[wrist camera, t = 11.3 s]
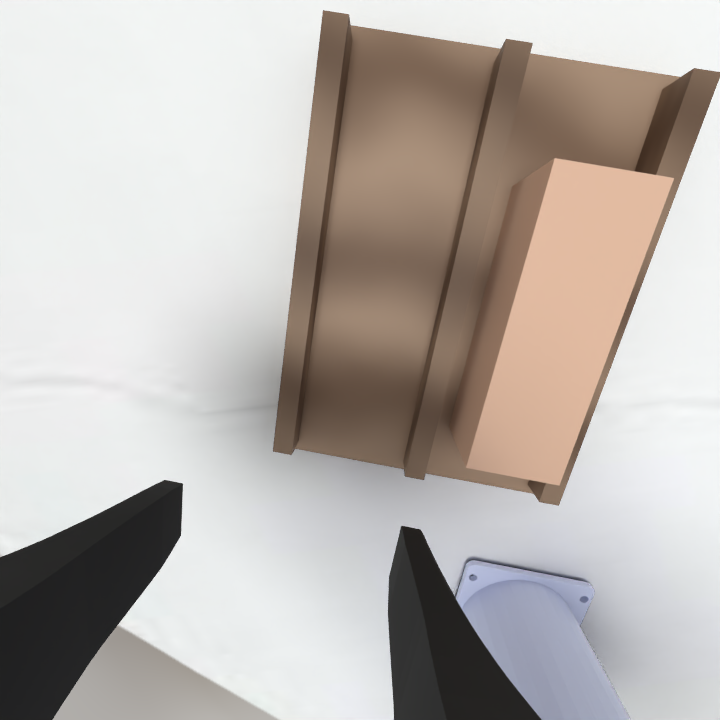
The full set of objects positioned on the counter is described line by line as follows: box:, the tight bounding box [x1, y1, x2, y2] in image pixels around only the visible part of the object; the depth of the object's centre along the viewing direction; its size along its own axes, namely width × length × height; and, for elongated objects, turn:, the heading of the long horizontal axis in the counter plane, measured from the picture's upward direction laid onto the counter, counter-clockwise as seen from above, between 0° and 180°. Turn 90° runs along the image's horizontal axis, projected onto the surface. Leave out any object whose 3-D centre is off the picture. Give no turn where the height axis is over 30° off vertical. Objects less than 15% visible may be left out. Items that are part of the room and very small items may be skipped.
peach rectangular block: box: [449, 158, 674, 485], centre depth 15 cm, size 12×4×4 cm, turn 170°
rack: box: [273, 10, 720, 506], centre depth 17 cm, size 20×15×3 cm
